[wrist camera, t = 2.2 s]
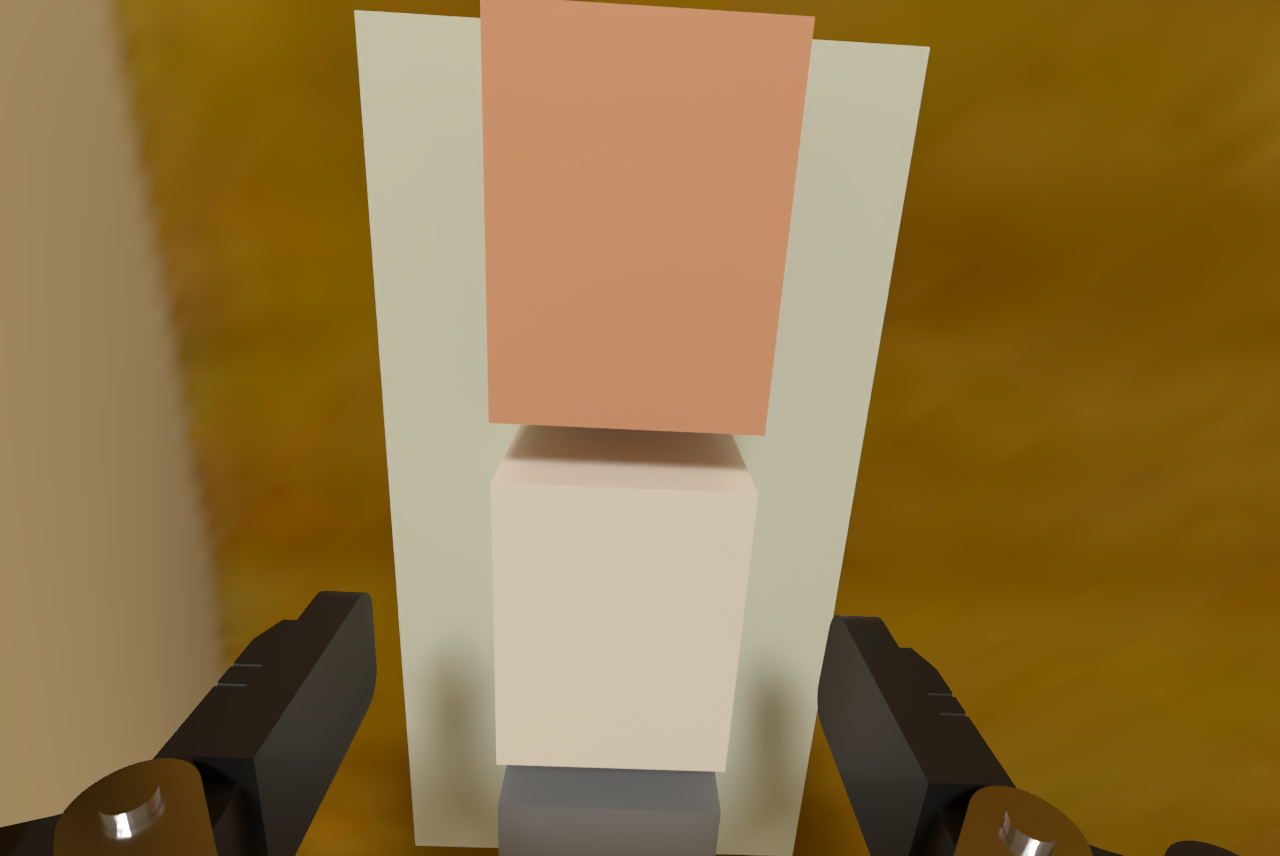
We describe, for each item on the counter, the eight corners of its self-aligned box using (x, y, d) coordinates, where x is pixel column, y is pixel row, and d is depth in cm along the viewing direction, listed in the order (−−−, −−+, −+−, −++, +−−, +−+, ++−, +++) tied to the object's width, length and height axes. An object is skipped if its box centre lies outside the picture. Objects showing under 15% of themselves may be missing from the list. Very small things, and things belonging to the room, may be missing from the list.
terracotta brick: (727, 370, 16) (764, 436, 12) (529, 360, 16) (488, 423, 11) (755, 78, 14) (814, 17, 10) (529, 64, 14) (479, -6, 9)
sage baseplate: (783, 823, 22) (792, 856, 21) (426, 812, 22) (415, 845, 21) (907, 59, 15) (930, 46, 14) (375, 25, 15) (354, 9, 14)
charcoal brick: (682, 834, 21) (696, 1010, 16) (530, 830, 21) (501, 1005, 16) (698, 665, 19) (720, 812, 14) (530, 659, 19) (497, 805, 14)
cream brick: (702, 632, 18) (725, 771, 14) (529, 626, 18) (496, 764, 14) (723, 414, 16) (758, 494, 12) (530, 405, 16) (490, 482, 12)
